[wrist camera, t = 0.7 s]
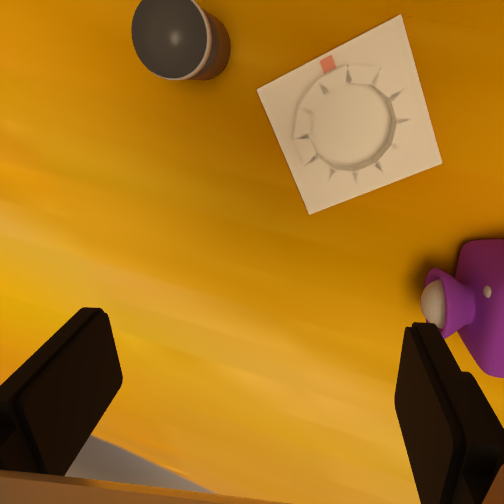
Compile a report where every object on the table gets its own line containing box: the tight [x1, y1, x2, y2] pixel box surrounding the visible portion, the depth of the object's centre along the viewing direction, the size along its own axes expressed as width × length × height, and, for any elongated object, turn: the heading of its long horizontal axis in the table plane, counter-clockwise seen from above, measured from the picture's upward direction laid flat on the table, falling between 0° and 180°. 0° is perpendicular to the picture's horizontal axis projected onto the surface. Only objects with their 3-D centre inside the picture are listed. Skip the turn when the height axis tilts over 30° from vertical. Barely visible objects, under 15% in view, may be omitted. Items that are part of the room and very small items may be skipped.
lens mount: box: [256, 14, 442, 215], centre depth 30 cm, size 12×12×3 cm
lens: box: [132, 0, 231, 80], centre depth 27 cm, size 5×5×8 cm
